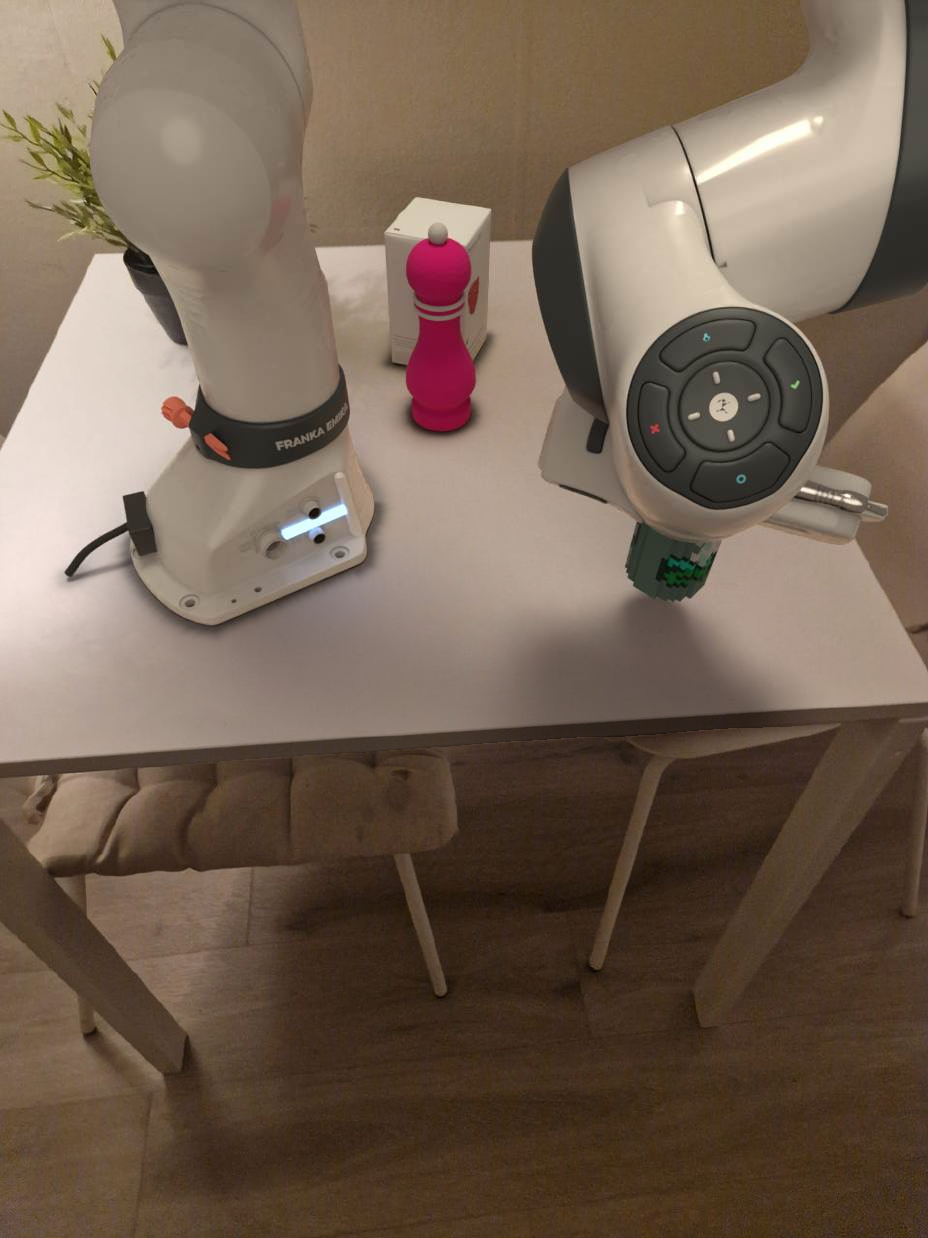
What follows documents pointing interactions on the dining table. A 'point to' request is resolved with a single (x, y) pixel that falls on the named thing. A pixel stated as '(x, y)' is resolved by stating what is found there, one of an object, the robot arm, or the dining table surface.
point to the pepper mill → (439, 333)
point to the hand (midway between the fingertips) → (691, 487)
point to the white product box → (400, 238)
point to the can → (668, 564)
